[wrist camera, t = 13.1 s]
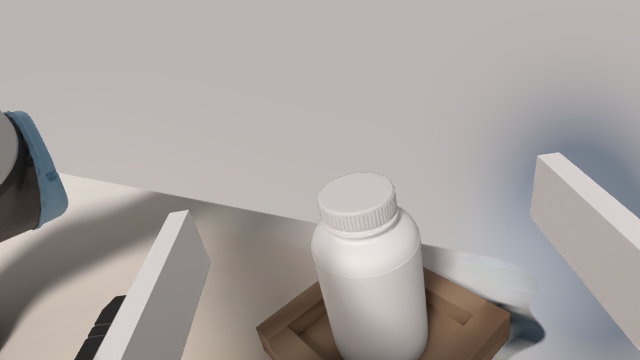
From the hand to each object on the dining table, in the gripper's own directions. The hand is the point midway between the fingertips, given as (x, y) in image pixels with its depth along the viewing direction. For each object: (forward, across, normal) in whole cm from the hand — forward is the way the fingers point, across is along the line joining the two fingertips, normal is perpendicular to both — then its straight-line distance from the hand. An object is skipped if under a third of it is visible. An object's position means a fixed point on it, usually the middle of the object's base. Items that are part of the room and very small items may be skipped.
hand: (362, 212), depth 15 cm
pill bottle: (+10, 0, -21) cm, 23 cm away
